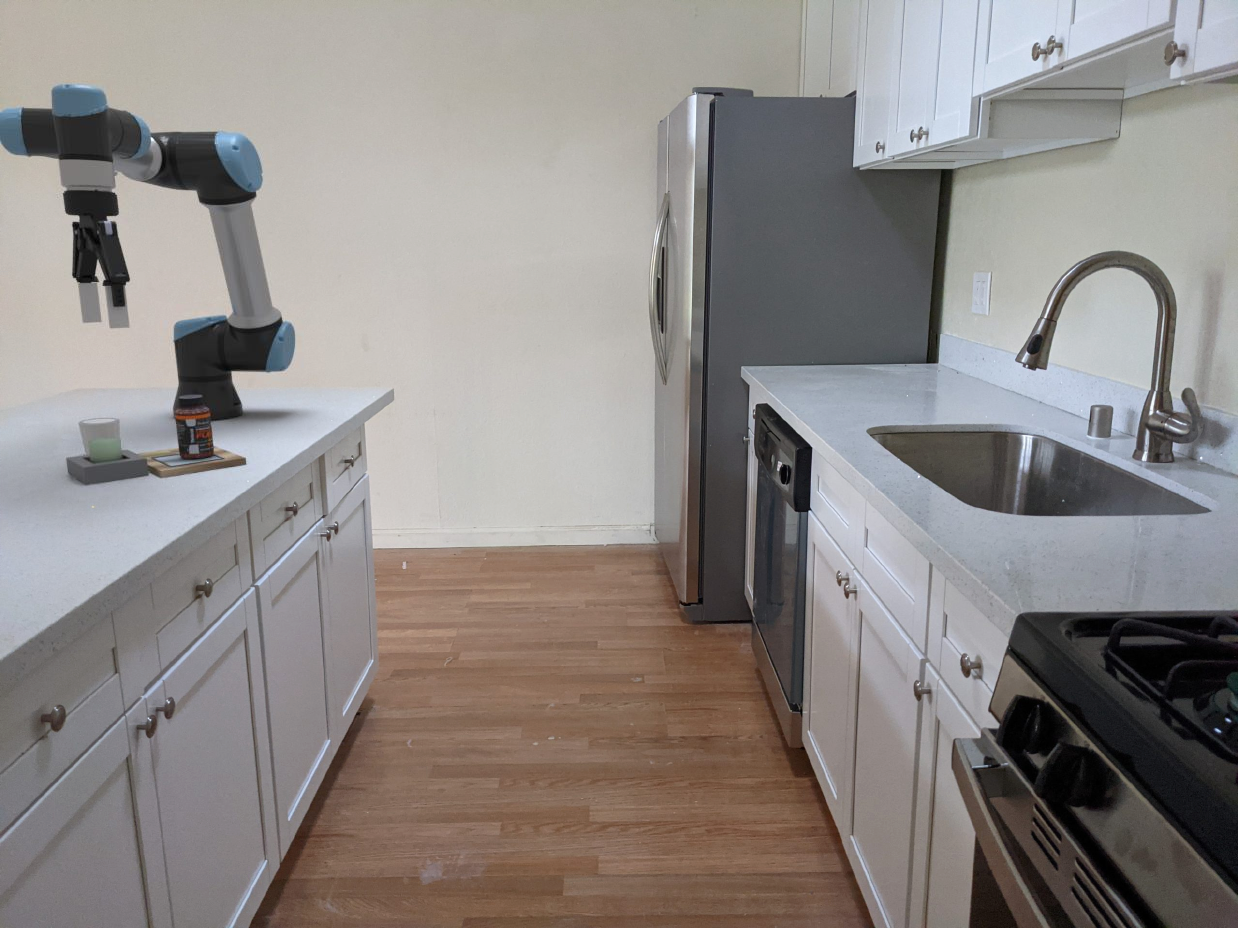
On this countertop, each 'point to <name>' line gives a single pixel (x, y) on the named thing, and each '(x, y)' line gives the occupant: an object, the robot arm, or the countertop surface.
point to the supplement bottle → (194, 428)
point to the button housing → (107, 468)
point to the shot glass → (98, 430)
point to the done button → (105, 450)
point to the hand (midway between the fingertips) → (105, 325)
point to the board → (189, 462)
